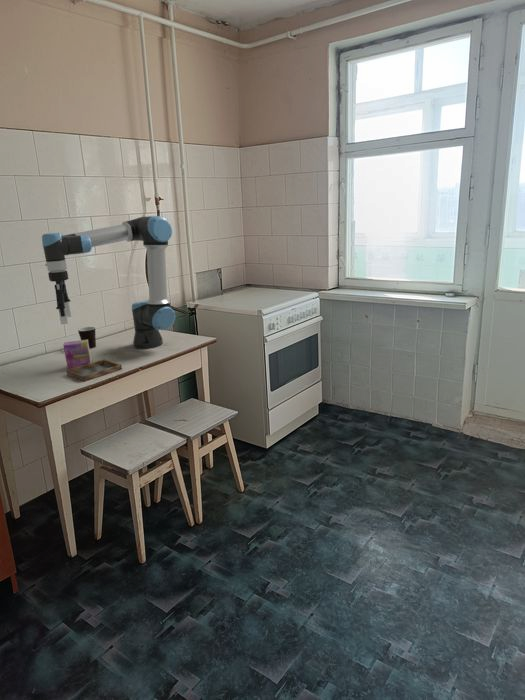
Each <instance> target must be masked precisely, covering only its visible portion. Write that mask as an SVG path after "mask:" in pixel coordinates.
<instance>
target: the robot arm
mask: <svg viewBox="0 0 525 700" xmlns="http://www.w3.org/2000/svg"><path fill="white" fill-rule="evenodd" d="M172 235H173V227H172V224H171V223H170V221H169V220H168V219H167V218H165V217H163V216H159V215H153V216H152V215H151V216H150V215H149V216H141V217H137V218H134V219H131V220H126V221H122V222H121V224H117V225H116V224H115V225H112V226H106V227H102V228H101V227H100V228H96V229H95V228H94V229H90V230H85V231H84V230H83V231H79V232H74V233H70V234H65V235H64V234H61V233H60V232H49V233H44V234H42V235H41V241H42V242H41V243H42V248H43V253H44V257H45V265H44V266H45V267H46V269H47V271H48V273H47V274H48V280H49V281H50V282H55V284H54V289H55V297H56V307H55V308H56V310H58V313H59V318H60V319H59V320H60V324H61V325H66V324H69V319H68V318H71V317H72V315H71V314H72V312H71V309H70V308H71V307H70V303H71V299H70V298H69V296H68V295H69V293H68V291H67V285H66V281H68V280H69V273H68V271H67V269H68V267H67V260H66V258H65V257H66V256H70V255H79V254H81V255H82V254H87V253H90V252H91V251H92V248H95V247H100V246H104V245H110V244H114V243H118V242H123V241H125V242H129V243H130V242H135V241H136V242H137V241H138V242H139V241H141V242H142V243H143V244H142V245H143V247H144V248H145V249H146V257H147V259H146V261H147V277H148V279H147V280H148V296H149V297H148V299H147V300H142V301H137V302H133V303H132V305H131V313H132V319H133V327H134V336H133V341H132V345H133V348H135V349H143V350H144V349H151V348H156V347H160V346H162V345H163V343H164V341H163V337H162V335H161V333H160V331H166V330H168V329H170V328H171V327H172V326H173V325H174V324H175V321H176V314H175V310H174V309H173V307H172V308H171V301H170V300H169V299H168V289H167V288H168V285H167V265H166V263H167V262H166V249H167V248H168V246H169V240H170V239H171V238H172Z"/></svg>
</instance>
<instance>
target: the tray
mask: <svg viewBox="0 0 525 700" xmlns="http://www.w3.org/2000/svg"><path fill="white" fill-rule="evenodd" d="M121 370H123V368H122V364H119V363H117V362H114V361H111V360H108V359H107V360H106V359H100V360H98V361H94V362H92V363H90V364H86V365H83V366H80V367H76V368H73V369H69V370H68V369H67V370H66V376H68V377H71V378H74V379H76V380H79V381H80V382H87V381H90V380H94V379H97V378H100V377H103V376H105V375H106V376H107V375H109V374H112V373H115V372H118V371H121Z"/></svg>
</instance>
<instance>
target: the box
mask: <svg viewBox="0 0 525 700" xmlns="http://www.w3.org/2000/svg"><path fill="white" fill-rule="evenodd" d="M62 346H63V350H64V355H65V361H66V367H67V370H70V369H73V368H76V367H80V366H83V365H86V364H90V363H93V362H92V356H91V349H89V343H88V339H87V340H81V339H80V340H74V341H73V340H71V341H67V342H66V341H64V343H63V345H62Z"/></svg>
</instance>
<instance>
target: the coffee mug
mask: <svg viewBox="0 0 525 700" xmlns="http://www.w3.org/2000/svg"><path fill="white" fill-rule="evenodd" d="M77 331H78V335H79V338H80V340H87V339H88V343H89V349H90V350H91V349H95V348H96V347H97V339H96V337H97V335H96V327H95V326H84V327H80V328H78V330H77Z"/></svg>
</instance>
